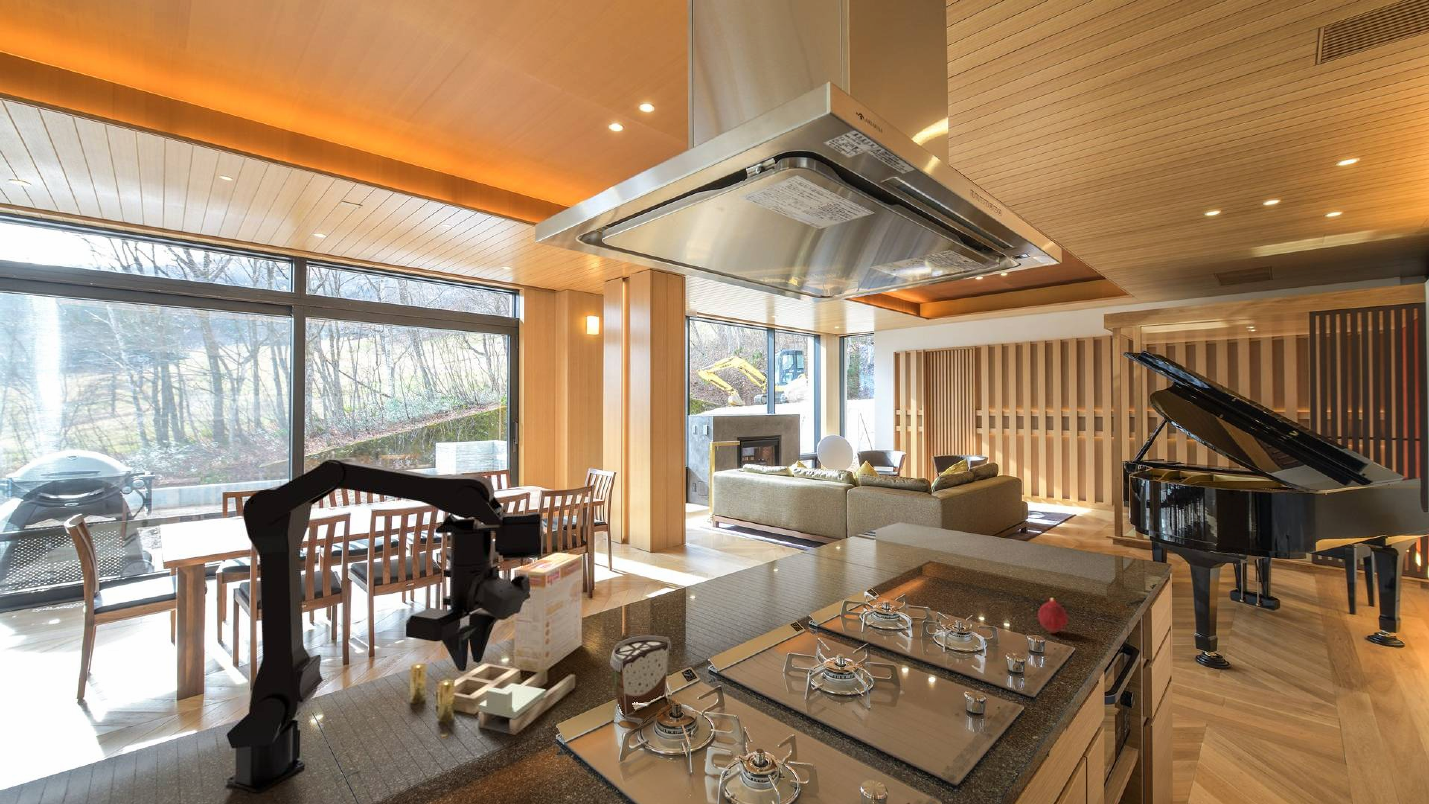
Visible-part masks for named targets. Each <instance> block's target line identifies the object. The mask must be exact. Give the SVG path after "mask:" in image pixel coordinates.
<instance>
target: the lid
mask: <svg viewBox="0 0 1429 804" xmlns="http://www.w3.org/2000/svg"><path fill="white" fill-rule="evenodd" d="M546 692H547V689H544V688H541V687H540V688H535V687H529V686H524V685H520V683H519V684H513V683H511V684H509V685H508V686H506V687H505V688H503V689H499V688H493V687H491V688H490V689H488V690H486V700H485V701H484V702H482V703H481V704H479V711H478V712H485V713H490V714H495V715H500V716H505V717H509V718H514V719H515V718H517V717H518V716H519V715H521V714H522V713H523V712H525V711H526V710H527V709H529V708H530V707H531V706H533V705H534V704H535V703H537V702H538V701H539V700H541V699H542V698H543V697H545V696H546Z"/></svg>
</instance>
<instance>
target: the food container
mask: <svg viewBox="0 0 1429 804" xmlns="http://www.w3.org/2000/svg"><path fill="white" fill-rule="evenodd" d="M670 650H672V643H671V640H670V638H669V637H667V636H666V637H665V636H660V635H640V636H632V637H630V638H626V639H624V640H621V641H619V642H618V643H616V644H615V646H614V648H613V650H612V651H611V652H612V653H611V657H610V660H609V661H610V663H609V664H610V666H611V667H612V669H614V677H615V679H614V680H615V688H616V689H615V690H616V702H617V705H618V704H619V707H620V709H621V711H622V713H623V714H624V715H626V716H627V715H630V716H632V715H633V714H635V713H636V712H635V709H634V707H633V705H632V703H634V702H635V703H636V702H638V703H644V702H650V701H651V700H653V699H656V698H658V697H659V696H663V695H664V694H665V693H666V691H667V680H668V679H667V678H668V667H669V666H668V664H669V651H670ZM666 694H667V693H666ZM634 712H635V713H634ZM631 714H632V715H631Z"/></svg>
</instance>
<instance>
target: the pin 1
mask: <svg viewBox="0 0 1429 804" xmlns="http://www.w3.org/2000/svg"><path fill="white" fill-rule="evenodd" d="M426 686H427V664H426V663H425V662H417V663H414V664H412V665H411V666H410V685H409V687H410V688H409V691H410V694H409V702H410V704H413V705H417V704H422V703H423V702H425V701H426V694H427V693H426V692H427V691H426V689H427V687H426Z"/></svg>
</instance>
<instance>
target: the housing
mask: <svg viewBox="0 0 1429 804" xmlns="http://www.w3.org/2000/svg"><path fill="white" fill-rule="evenodd" d="M546 683H548V670H541V671H540V672H538V673H537V672H536V673H535V674H534V675H532V676H531V677H530V678H528V679H526V680H525V681H523V682H522V683H519V685H524V686H529V687H535V688H540V689H541V687H543V686H544V685H546ZM575 687H576V674H572V673H571V674H568V676H566V677H564V679H562V680H561V681H559V682H558V683H557V684H556V685H554V686H553V687H551V688H549V689H548V690H546V696H545V697H543V698H542V699H541V700H539V701H538V702H537V703H535V704H534V705H533V706H531V707H530V708H529V709H527V710H526V711H525V712H523V713H522V714H521V715H519V716H518V717H517V718H515V719H514V718H509V717H505V716H500V715H495V714H490V713H485V712H481V711H478V716H477V717H478V720H477V721H478V723H477V724H478V728H481V729H487V730H491V731H495V732H500V733H504V734H510V735H513V736H516V735H517V734H518V733H519V732H520V731H522V730H523V729H524V728H526V726H528V725H530V724H531V723H532V722H533V721H534V720H536V719H537V718H538V717H539V716H541V715H542V714H543V713H544V712H545V711H547V710H548V709H550V708H551V707H552V706H553V705H554V704H556V703H557V702H559V700H561V699H562V698H564V697H565V696H566V695H567V694H569V692H571V691H573V689H575Z"/></svg>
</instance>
